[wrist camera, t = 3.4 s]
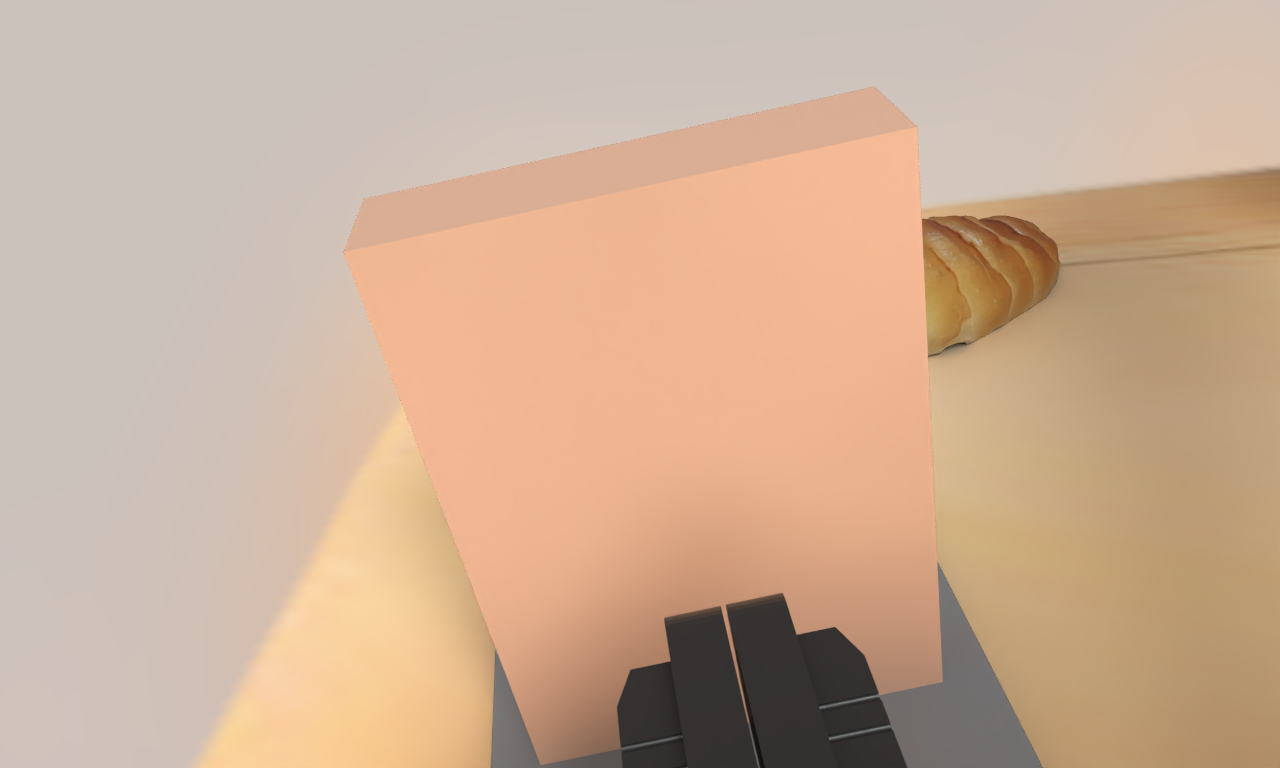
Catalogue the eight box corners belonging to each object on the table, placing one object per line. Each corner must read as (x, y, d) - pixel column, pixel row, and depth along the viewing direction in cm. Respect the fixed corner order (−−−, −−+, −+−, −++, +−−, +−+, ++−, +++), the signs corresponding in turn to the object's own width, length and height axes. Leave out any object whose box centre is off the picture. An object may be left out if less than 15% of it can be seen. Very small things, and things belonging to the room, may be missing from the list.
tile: (907, 603, 27) (871, 83, 19) (942, 682, 25) (917, 126, 17) (539, 680, 27) (365, 195, 20) (540, 765, 25) (343, 252, 17)
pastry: (992, 242, 44) (992, 159, 42) (1105, 303, 38) (1112, 211, 36) (800, 313, 42) (790, 229, 40) (890, 387, 36) (884, 295, 34)
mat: (820, 340, 39) (819, 331, 39) (1084, 861, 21) (1085, 850, 20) (507, 407, 40) (504, 399, 39) (488, 982, 21) (483, 972, 21)
